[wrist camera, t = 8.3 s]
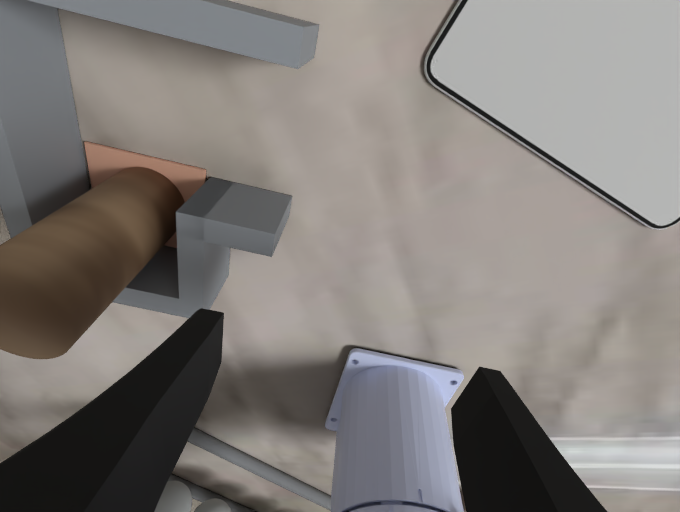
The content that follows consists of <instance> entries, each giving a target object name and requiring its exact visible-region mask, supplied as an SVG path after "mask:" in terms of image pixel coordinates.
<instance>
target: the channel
mask: <svg viewBox="0 0 680 512" xmlns="http://www.w3.org/2000/svg"><path fill="white" fill-rule="evenodd" d="M57 8H60V9H64V10H68V11H72V12H76V13H79V14H83V15H87V16H91V17H95V18H99V19H103V20H107V21H111V22H115V23H119V24H123V25H127V26H131V27H135V28H138V29H142V30H146V31H150V32H154V33H158V34H162V35H166V36H170V37H174V38H178V39H182V40H186V41H190V42H194V43H198V44H201V45H205V46H209V47H213V48H217V49H221V50H225V51H229V52H233V53H237V54H241V55H245V56H249V57H253V58H257V59H260V60H264V61H268V62H272V63H276V64H280V65H284V66H288V67H292V68H296V69H299V68H300V67H301V66H303V65H304V64H306V63H307V62H308V61H310V60H311V59H313V58H314V55H315V49H316V42H317V36H318V30H319V24H315V23H311V22H307V21H304V20H300V19H296V18H292V17H288V16H285V15H281V14H277V13H273V12H269V11H266V10H262V9H258V8H254V7H250V6H246V5H243V4H239V3H235V2H231V1H227V0H0V207H1V210H2V213H3V216H4V219H5V222H6V225H7V228H8V231H9V234H10V237H11V238H13V237H14V236H16V235H18V234H19V233H21V232H22V231H24V230H26V229H27V228H29V227H31V226H32V225H34V224H35V223H37V222H39V221H40V220H42V219H44V218H45V217H47V216H48V215H50V214H52V213H53V212H55V211H57V210H58V209H60V208H62V207H63V206H65V205H66V204H68V203H70V202H71V201H73V200H75V199H76V198H78V197H79V196H81V195H83V194H84V193H86V192H88V191H89V190H90V187H89V182H88V176H87V171H86V165H85V159H84V154H83V148H82V143H81V137H80V132H79V126H78V120H77V115H76V109H75V104H74V98H73V93H72V87H71V82H70V76H69V70H68V65H67V59H66V54H65V48H64V43H63V37H62V31H61V26H60V20H59V15H58V9H57ZM84 145H85V151H86V156H87V162H88V168H89V174H90V179H91V185H92V188H94V187H96V186H97V185H99V184H101V183H102V182H104V181H105V180H107V179H109V178H110V177H112V176H114V175H115V174H117V173H118V172H120V171H122V170H123V169H126V168H129V167H145V168H149V169H152V170H154V171H157V172H159V173H161V174H162V175H164V176H165V177H167V178H168V179H169V180H170V181H171V182H172V183H173V184H174V185H175V186H176V187H177V188H178V190H179V191H180V193H181V195H182V197H183V199H184V202H185V203H184V204H183V205H182V206H181V207H180V208H179V209H178V210H177V211H176V233H175V234H174V235H173V236H172V237H171V238H170V239H169V240H168V241H167V242H166V243H165V245H164V246H163V247H162V248H161V249H160V250H159V251H158V252H157V253H156V254H155V256H154V257H153V258H152V259H151V260H150V261H149V262H148V263H147V264H146V265H145V267H144V268H143V269H142V270H141V271H140V272H139V273H138V274H137V275H136V276H135V278H134V279H133V280H132V281H131V282H130V283H129V284H128V285H127V286H126V287H125V288H124V290H123V291H122V292H121V293H120V294H119V295H118V296H117V297H116V298H115V299H114V301H113V302H114V303H119V304H124V305H128V306H133V307H138V308H143V309H148V310H152V311H157V312H162V313H167V314H171V315H176V316H181V317H186V318H190V317H191V316H192V315H193V314H194V313H195V312H196V311H197V310H199V309H201V308H203V309H208V310H209V309H210V308H211V306H212V304H213V302H214V300H215V299H216V297H217V295H218V293H219V291H220V290H221V288H222V286H223V284H224V282H225V281H226V279H227V277H228V275H229V258H230V248H234V249H239V250H243V251H248V252H252V253H257V254H261V255H266V256H270V257H272V255H273V253H274V251H275V248H276V246H277V243H278V241H279V239H280V236H281V234H282V231H283V229H284V227H285V224H286V222H287V219H288V217H289V213H290V206H291V200H292V196H290V195H286V194H282V193H277V192H273V191H269V190H265V189H260V188H256V187H252V186H247V185H243V184H239V183H235V182H230V181H226V180H222V179H218V178H213V177H210V178H209V179H208V180H207V181H206V169H202V168H198V167H194V166H189V165H185V164H181V163H177V162H172V161H168V160H164V159H160V158H155V157H151V156H147V155H142V154H138V153H134V152H130V151H125V150H121V149H117V148H113V147H108V146H104V145H100V144H96V143H91V142H87V141H86V142H84Z"/></svg>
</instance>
